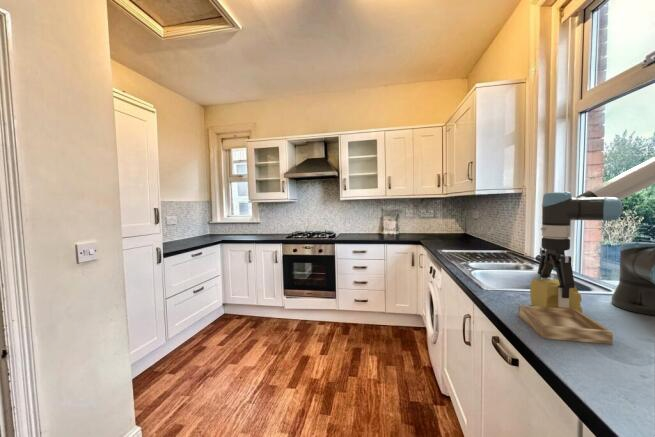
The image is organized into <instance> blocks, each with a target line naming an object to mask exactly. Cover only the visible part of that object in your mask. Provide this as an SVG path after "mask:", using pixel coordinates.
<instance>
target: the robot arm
mask: <svg viewBox="0 0 655 437" xmlns="http://www.w3.org/2000/svg"><path fill="white" fill-rule="evenodd" d="M653 185H655V156H654V157H652V158H650V159H648V160H646V161H644V162H642V163H640V164H638V165H636V166H634V167H632V168H630V169H628V170H626V171H624V172H622V173H620V174H619V175H617V176H615V177H613V178H611V179H609V180H607V181H605V182H602V183H601V184H599V185H596V186H595V187H593V188H591V189H590V190H587V191H585V192H584V193H582V194H580V195H577V196H572V193H571V192H570V191H551V192H546V193H544V194H543V196H542V204H541V210H542V213H541V214H542V216H541V218H542V220H541V221H542V224H541V228H540V230H541V236H542V238H541V248H542V249H541V251H540V259H539V264H538V269H537V275H539V276H540V279H552V275H551V274H552V271H553V269H554V270H555V272H556V276H557V279H558V280H559V283H560V285H559V286H558V307H563V308H569V291H570V288H575V286H576V284H575V280H574V279H575V278H574V273H573V266H572V256H571V255H570V256H569V255H566V251H569V250H570V248H571V239H570V237H571V226H572V223H571V221H602V222H603V221H604V222H606V221H616V220H619V219H620V218H621V215H622V213H623V203H622V200H623V199H626V198H627V197H630V196H632V195H634V194H636V193H638V192H640V191H642V190H644V189H647V188H649V187H651V186H653ZM619 254H620V257H619V278H618V279H619V282H618V285H617V286H616V288H615V290H614V292H613V294H612V295H611V304H612V305H614V307H617V308H620V309H623V310H627V311H629V312H633V313H637V314H642V315H647V316H653V317H654V316H655V242H637V241H636V242H634V241H633V242H630V241H629V242H627V241H625V242H623V243H622V244H621V246H620V250H619Z"/></svg>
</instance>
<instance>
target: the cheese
mask: <svg viewBox="0 0 655 437" xmlns="http://www.w3.org/2000/svg"><path fill="white" fill-rule="evenodd" d="M559 285H560V283H559V280H558V278H557V279H556V278H555V279H552V278H551V279H541V278H537V279H536V278H532V279H531V282H530V287H529V290H530V291H529V293H530V294H529V296H530V303H531V306H537V307H552V308H563V307H558V286H559ZM581 302H582V295H581V293H580V292H579V291H578V289H577V287H576V285H575V288H570V291H569V308H568V309H577V310H578V311H580V312H581V313H583V307H582V306H581Z"/></svg>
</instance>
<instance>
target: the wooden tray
mask: <svg viewBox="0 0 655 437" xmlns="http://www.w3.org/2000/svg"><path fill="white" fill-rule="evenodd" d="M518 316H519V317H520V318H521V319H522V320H523V321H524V322H525V323H527V324H528V326H530V328H532V330H534V331H535V332H536V334H538V335H539V336H540V337H541V338H542V339H547V340H548V339H549V340H560V341H574V342H584V343H585V342H586V343H593V344H594V343H596V344H607V345H613V340H614V339H613V338H614V336H613V335H614V332H613V331H612V330H610V329H609V328H607V326H603V324H601V323H599V322H597V321H596V320H594V319H592V318H591V317H589V316H587V315H586V314H584V313H583V312H582V313H581V312H580V311H578V310H577V309H568V308H552V307H537V306H533V305H518Z"/></svg>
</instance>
